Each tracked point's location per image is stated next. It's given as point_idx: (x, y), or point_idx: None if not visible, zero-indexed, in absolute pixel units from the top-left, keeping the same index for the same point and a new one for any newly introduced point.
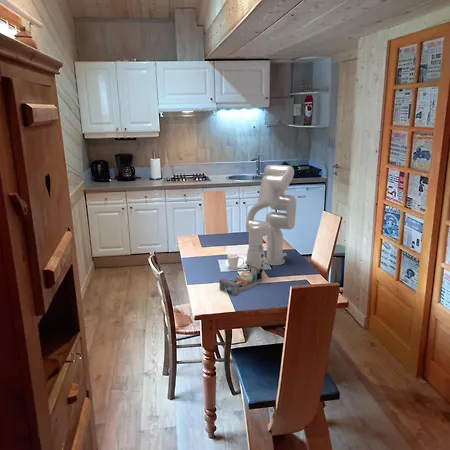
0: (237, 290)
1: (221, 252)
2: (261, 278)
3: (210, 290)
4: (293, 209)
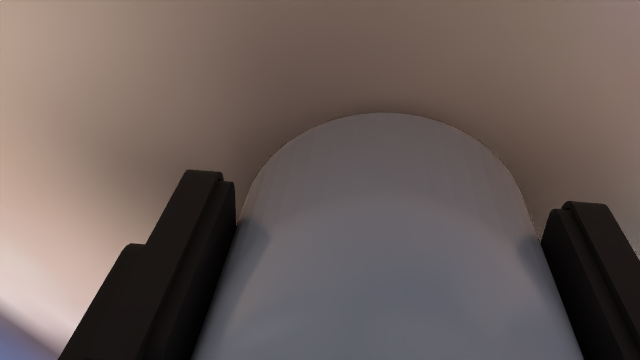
0: None
1: None
2: (598, 208)
3: None
4: None
